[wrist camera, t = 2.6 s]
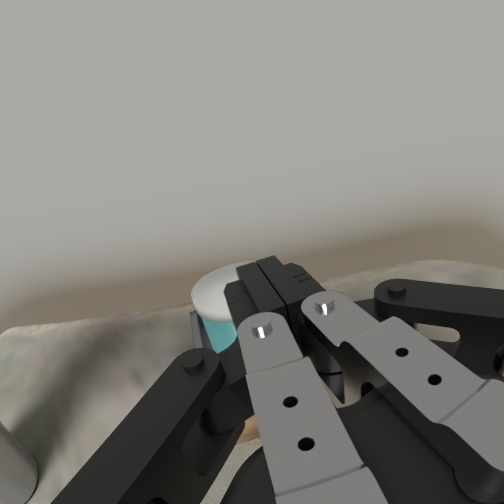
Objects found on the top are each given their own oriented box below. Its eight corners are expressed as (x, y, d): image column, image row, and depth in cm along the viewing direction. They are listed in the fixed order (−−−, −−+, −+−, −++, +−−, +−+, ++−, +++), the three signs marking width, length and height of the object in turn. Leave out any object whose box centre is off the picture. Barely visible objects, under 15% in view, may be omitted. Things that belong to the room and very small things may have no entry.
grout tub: (237, 424, 24) (195, 321, 20) (223, 373, 30) (188, 277, 26) (314, 397, 25) (297, 288, 21) (288, 352, 31) (267, 252, 27)
